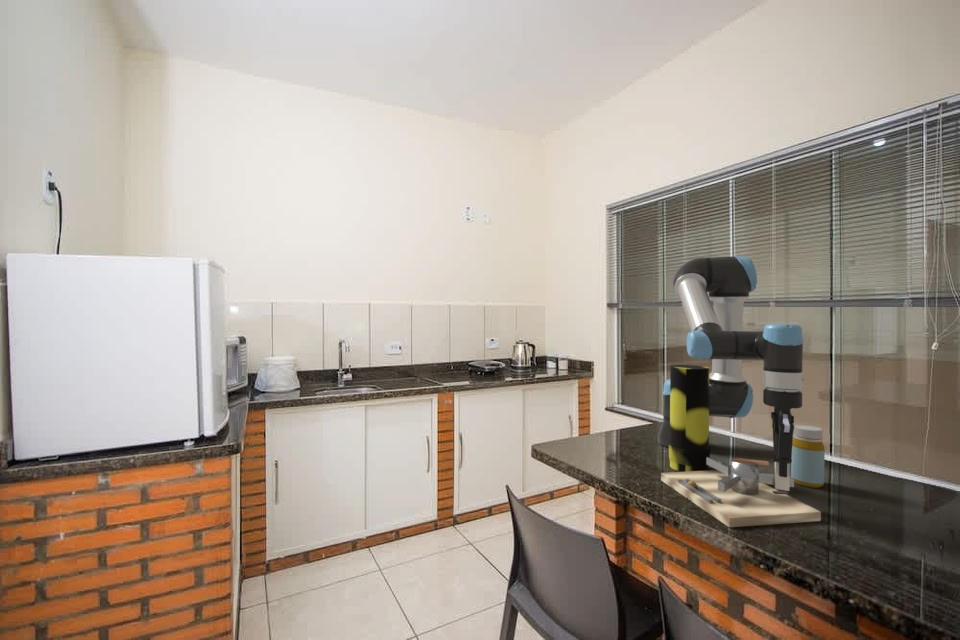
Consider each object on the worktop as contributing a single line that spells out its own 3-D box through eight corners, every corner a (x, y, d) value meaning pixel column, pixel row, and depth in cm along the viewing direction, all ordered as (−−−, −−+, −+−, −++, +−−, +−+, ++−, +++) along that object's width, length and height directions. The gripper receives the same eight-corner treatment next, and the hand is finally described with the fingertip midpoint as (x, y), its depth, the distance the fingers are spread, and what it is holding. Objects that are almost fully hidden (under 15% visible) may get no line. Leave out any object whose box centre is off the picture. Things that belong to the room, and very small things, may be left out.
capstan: (718, 501, 97) (718, 469, 97) (706, 471, 116) (706, 444, 116) (808, 514, 91) (808, 479, 91) (780, 480, 109) (780, 452, 109)
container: (660, 464, 127) (661, 365, 127) (689, 460, 131) (689, 364, 131) (688, 477, 117) (689, 369, 117) (718, 473, 121) (719, 368, 120)
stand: (660, 480, 115) (660, 466, 115) (737, 476, 118) (737, 462, 118) (729, 527, 90) (729, 509, 90) (824, 520, 93) (824, 503, 93)
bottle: (830, 489, 109) (830, 431, 109) (799, 487, 111) (800, 430, 111) (814, 479, 116) (815, 425, 116) (786, 477, 118) (786, 423, 117)
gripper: (808, 394, 92) (807, 502, 92) (796, 386, 104) (795, 482, 104) (767, 391, 96) (766, 495, 96) (760, 384, 107) (759, 477, 107)
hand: (781, 488), depth 100 cm, fingers closed
